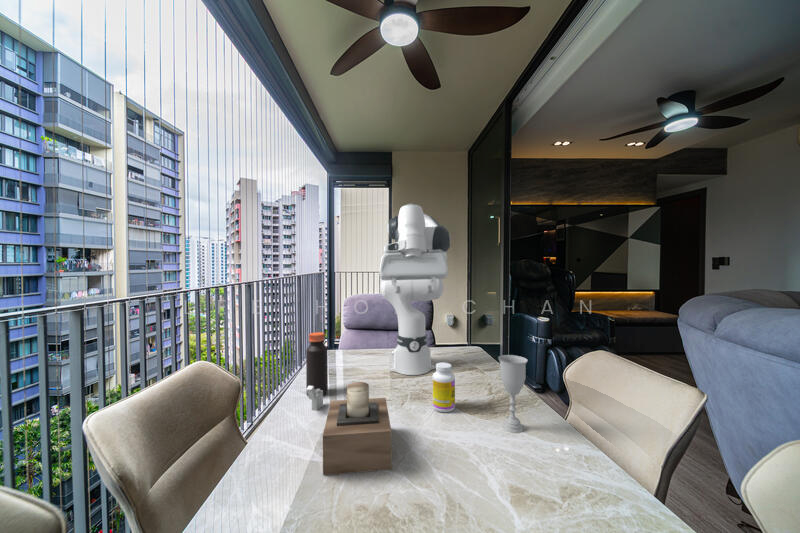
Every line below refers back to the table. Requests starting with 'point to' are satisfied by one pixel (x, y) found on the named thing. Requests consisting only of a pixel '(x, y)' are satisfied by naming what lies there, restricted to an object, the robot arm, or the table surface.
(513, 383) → the chalice
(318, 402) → the lighter
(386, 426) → the block
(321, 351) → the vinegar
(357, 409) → the peg
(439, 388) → the supplement bottle
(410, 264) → the robot arm
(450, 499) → the table surface
